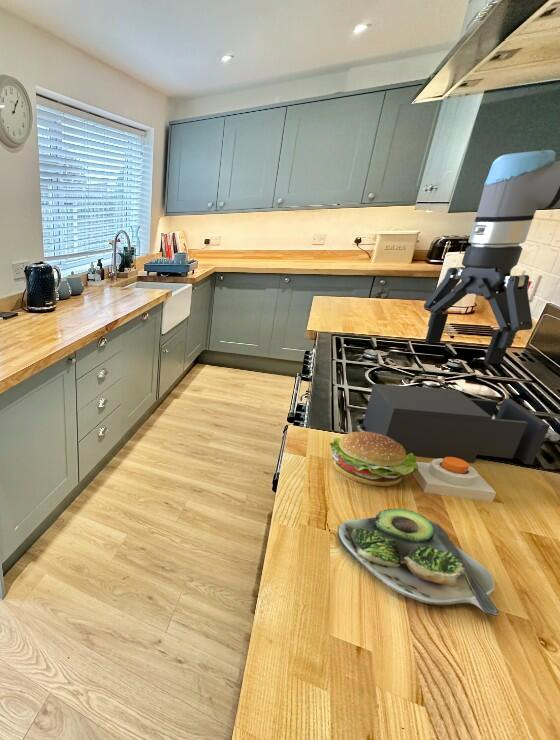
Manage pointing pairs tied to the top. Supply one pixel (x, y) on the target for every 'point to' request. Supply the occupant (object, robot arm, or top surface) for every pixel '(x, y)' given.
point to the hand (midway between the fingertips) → (459, 352)
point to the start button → (455, 465)
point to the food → (372, 458)
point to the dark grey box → (427, 420)
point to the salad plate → (417, 559)
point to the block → (452, 482)
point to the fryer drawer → (513, 431)
